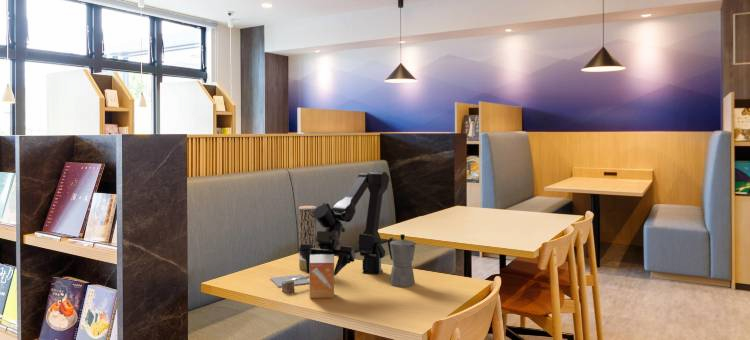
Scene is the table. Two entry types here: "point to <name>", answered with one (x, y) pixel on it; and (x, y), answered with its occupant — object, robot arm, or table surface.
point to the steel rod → (296, 279)
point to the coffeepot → (401, 261)
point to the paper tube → (306, 231)
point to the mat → (279, 280)
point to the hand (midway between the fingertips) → (321, 274)
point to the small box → (322, 276)
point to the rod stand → (288, 287)
